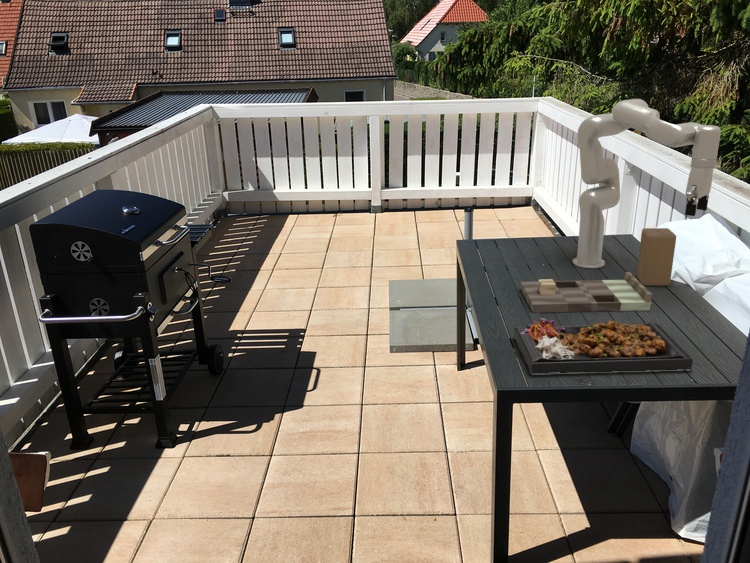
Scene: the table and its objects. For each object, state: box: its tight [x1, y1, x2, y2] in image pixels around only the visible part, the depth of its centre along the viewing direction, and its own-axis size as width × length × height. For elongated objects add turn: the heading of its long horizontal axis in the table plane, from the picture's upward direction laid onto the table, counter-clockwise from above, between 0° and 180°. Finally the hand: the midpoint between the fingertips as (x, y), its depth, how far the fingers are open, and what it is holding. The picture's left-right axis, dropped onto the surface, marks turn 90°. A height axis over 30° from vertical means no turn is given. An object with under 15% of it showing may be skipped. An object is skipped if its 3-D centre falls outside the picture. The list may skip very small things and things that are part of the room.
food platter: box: [513, 311, 694, 373], centre depth 195 cm, size 45×25×10 cm, turn 90°
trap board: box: [520, 271, 653, 314], centre depth 235 cm, size 22×40×6 cm, turn 89°
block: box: [636, 227, 677, 287], centre depth 246 cm, size 10×10×20 cm
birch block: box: [538, 278, 556, 295], centre depth 234 cm, size 5×5×4 cm
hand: (695, 212), depth 227 cm, fingers open, 9 cm apart
